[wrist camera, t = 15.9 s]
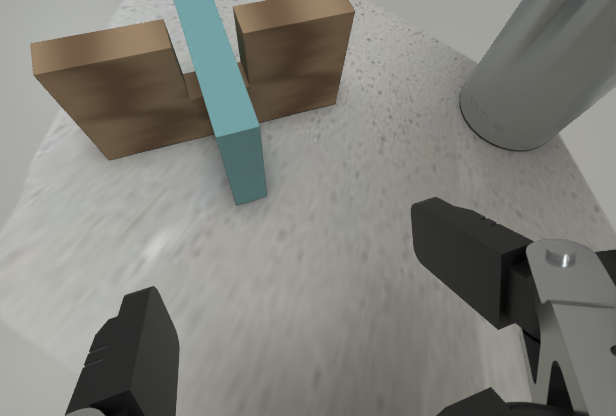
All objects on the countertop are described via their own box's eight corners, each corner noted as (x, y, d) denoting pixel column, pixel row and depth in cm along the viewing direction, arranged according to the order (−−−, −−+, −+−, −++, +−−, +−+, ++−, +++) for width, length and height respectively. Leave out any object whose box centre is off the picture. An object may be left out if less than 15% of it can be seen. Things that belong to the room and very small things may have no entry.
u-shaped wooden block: (325, 83, 33) (341, -14, 25) (335, 103, 33) (355, 11, 24) (104, 135, 30) (30, 43, 21) (109, 160, 29) (33, 75, 20)
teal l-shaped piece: (266, 196, 28) (259, 126, 20) (236, 205, 28) (215, 137, 19) (224, 72, 33) (203, -30, 24) (197, 77, 33) (166, -24, 24)
